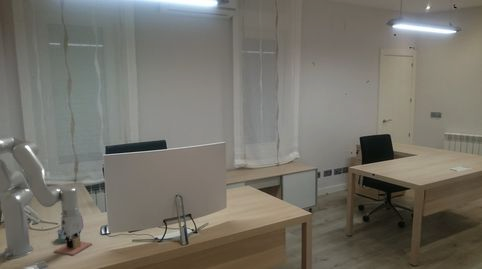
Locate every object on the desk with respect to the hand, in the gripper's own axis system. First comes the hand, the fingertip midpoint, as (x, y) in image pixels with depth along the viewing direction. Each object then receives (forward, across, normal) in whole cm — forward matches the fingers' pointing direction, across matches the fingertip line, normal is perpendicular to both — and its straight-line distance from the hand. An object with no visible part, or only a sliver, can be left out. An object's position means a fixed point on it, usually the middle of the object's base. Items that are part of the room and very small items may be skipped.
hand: (73, 245), depth 176 cm
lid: (+2, 0, 0) cm, 2 cm away
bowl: (+2, +9, +12) cm, 15 cm away
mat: (+2, 0, 0) cm, 2 cm away
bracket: (+2, +21, +23) cm, 31 cm away
